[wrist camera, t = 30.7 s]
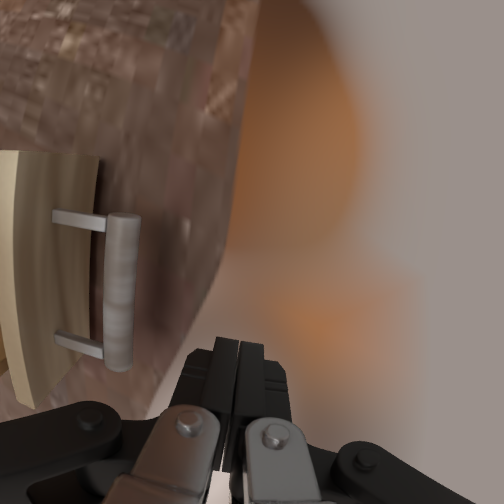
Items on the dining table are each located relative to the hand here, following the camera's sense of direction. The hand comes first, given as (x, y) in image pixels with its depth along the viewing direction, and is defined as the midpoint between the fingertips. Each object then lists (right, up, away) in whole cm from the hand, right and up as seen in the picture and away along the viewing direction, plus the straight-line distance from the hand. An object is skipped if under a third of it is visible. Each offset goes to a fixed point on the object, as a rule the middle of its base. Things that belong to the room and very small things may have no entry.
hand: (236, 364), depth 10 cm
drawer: (-13, +4, +6) cm, 15 cm away
